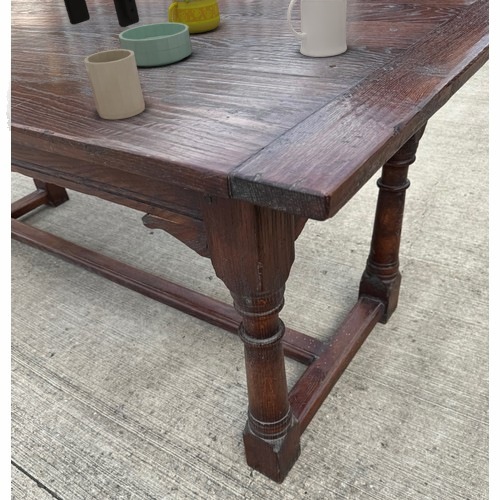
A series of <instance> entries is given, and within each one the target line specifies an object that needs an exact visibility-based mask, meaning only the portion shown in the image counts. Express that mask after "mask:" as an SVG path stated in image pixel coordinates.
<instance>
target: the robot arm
mask: <svg viewBox="0 0 500 500" xmlns="http://www.w3.org/2000/svg"><path fill="white" fill-rule="evenodd" d="M112 2H113V5H114V10H115V13H116V18H117V20H118V26H119V27H121V28H127V27H129V26H132V25H135V24H138V23H139V22H140V16H139V12H138V6H137V2H136V0H113V1H112ZM63 3H64V6H65V10H66V12H67V16H68V20H69V24H70V25H77V24H82V23H85V22H87V21H90V19H91V16H90V12H89V8H88V4H87V0H63Z"/></svg>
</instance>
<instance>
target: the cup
mask: <svg viewBox="0 0 500 500" xmlns="http://www.w3.org/2000/svg"><path fill="white" fill-rule="evenodd" d="M83 63H84V67H85V70H86V74H87V77H88V82H89V85H90V89H91V94H92V96H93V100H94V104H95V107H96V111H97V114H98V116H99V117H100V118H101V119H103V120H123V119H128V118H132V117H134V116H137V115H139V114H141V113H143V112H144V111H145V110H146V104H145V98H144V93H143V88H142V83H141V80H140V74H139V70H138V66H137V64H136V60H135V55H134V52H133V51H131V50H125V49H121V48H119V49H117V48H116V49H109V50H103V51H98V52H94V53H92V54H89V55H87V56H86V57H85V58H84V59H83Z"/></svg>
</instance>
